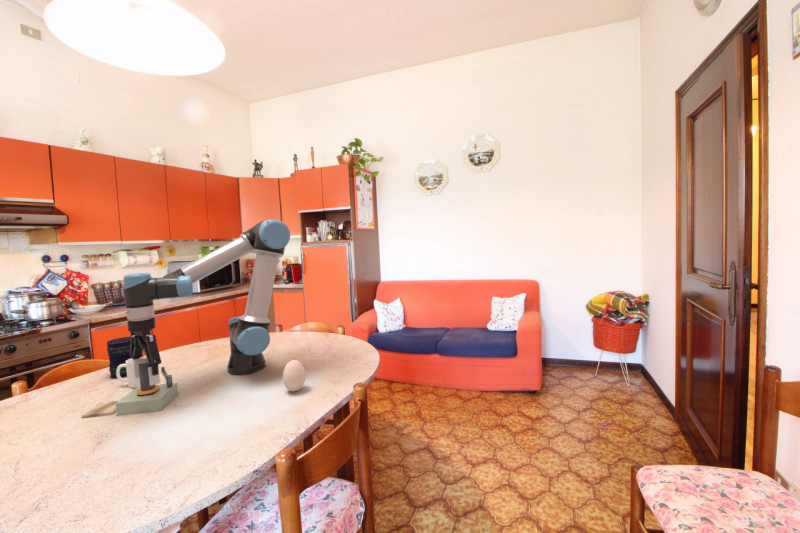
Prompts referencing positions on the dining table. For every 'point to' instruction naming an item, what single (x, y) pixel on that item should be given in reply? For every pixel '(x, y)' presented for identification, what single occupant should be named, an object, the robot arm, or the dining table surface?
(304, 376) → the egg
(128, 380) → the cup
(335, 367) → the dining table surface
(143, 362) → the plug
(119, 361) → the storage jar
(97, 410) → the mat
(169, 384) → the clip
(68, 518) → the dining table surface
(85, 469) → the dining table surface
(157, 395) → the socket block
